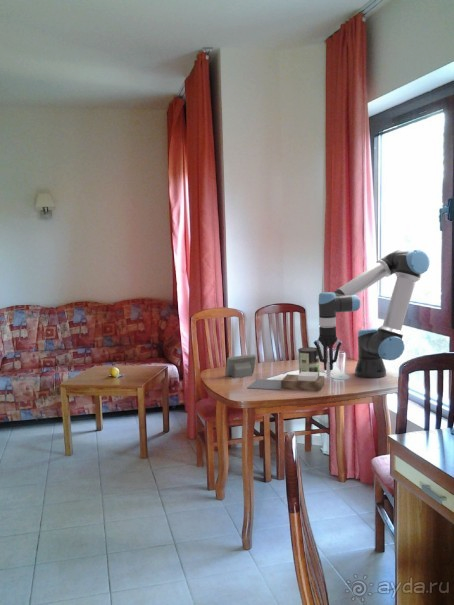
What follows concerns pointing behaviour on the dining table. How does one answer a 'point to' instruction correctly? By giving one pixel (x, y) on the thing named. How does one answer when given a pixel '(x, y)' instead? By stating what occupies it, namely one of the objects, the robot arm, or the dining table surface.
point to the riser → (302, 383)
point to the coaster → (308, 376)
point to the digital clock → (240, 365)
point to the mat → (266, 384)
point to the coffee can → (308, 360)
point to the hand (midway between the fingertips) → (328, 376)
